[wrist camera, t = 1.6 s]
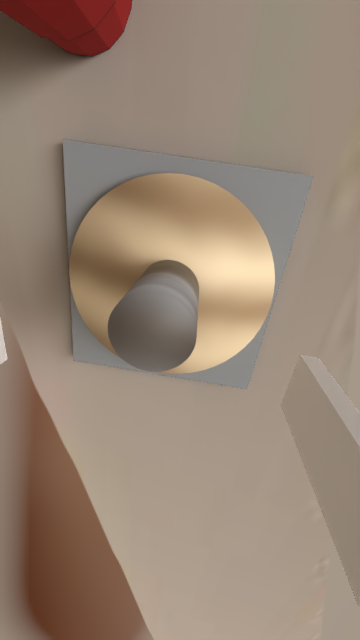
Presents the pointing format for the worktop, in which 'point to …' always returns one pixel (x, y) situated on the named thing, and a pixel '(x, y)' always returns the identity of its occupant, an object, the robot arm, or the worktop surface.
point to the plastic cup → (73, 21)
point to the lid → (172, 273)
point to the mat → (241, 181)
